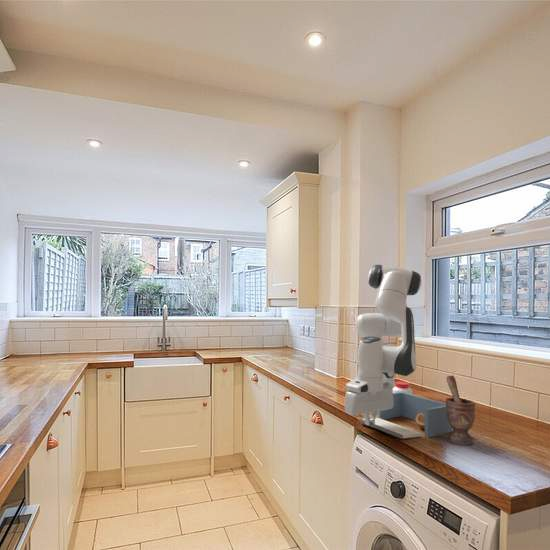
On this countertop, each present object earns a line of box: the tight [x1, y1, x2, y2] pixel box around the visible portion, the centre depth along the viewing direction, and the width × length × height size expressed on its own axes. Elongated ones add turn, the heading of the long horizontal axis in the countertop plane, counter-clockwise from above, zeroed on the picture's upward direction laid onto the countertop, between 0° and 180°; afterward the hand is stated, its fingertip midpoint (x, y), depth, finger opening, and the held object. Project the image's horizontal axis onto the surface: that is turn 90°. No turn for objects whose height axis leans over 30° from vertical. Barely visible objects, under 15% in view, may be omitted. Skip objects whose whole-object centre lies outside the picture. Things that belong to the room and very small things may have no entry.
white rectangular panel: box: [359, 417, 422, 439], centre depth 137 cm, size 19×1×10 cm
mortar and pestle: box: [445, 375, 476, 447], centre depth 130 cm, size 12×9×20 cm
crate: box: [377, 392, 453, 439], centre depth 144 cm, size 22×13×9 cm, turn 31°
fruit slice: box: [414, 412, 425, 430], centre depth 139 cm, size 8×7×5 cm
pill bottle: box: [393, 381, 413, 395], centre depth 164 cm, size 8×8×11 cm
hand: (369, 424), depth 136 cm, fingers closed
